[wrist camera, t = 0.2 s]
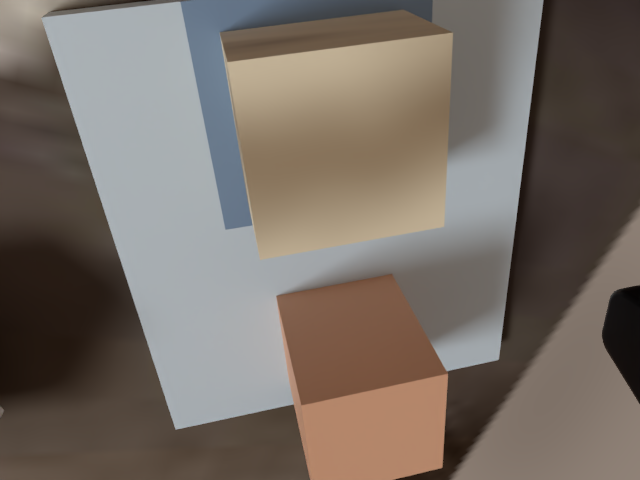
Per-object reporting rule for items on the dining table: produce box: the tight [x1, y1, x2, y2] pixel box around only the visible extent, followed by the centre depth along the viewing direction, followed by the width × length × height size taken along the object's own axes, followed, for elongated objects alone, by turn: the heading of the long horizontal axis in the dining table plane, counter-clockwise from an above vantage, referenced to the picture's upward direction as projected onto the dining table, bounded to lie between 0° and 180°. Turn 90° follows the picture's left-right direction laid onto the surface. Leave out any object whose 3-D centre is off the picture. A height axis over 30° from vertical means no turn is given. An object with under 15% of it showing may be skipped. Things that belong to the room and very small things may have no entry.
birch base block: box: [220, 10, 453, 260], centre depth 18 cm, size 6×6×4 cm
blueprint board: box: [42, 0, 543, 429], centre depth 22 cm, size 18×16×1 cm
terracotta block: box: [276, 274, 448, 480], centre depth 22 cm, size 5×5×6 cm
